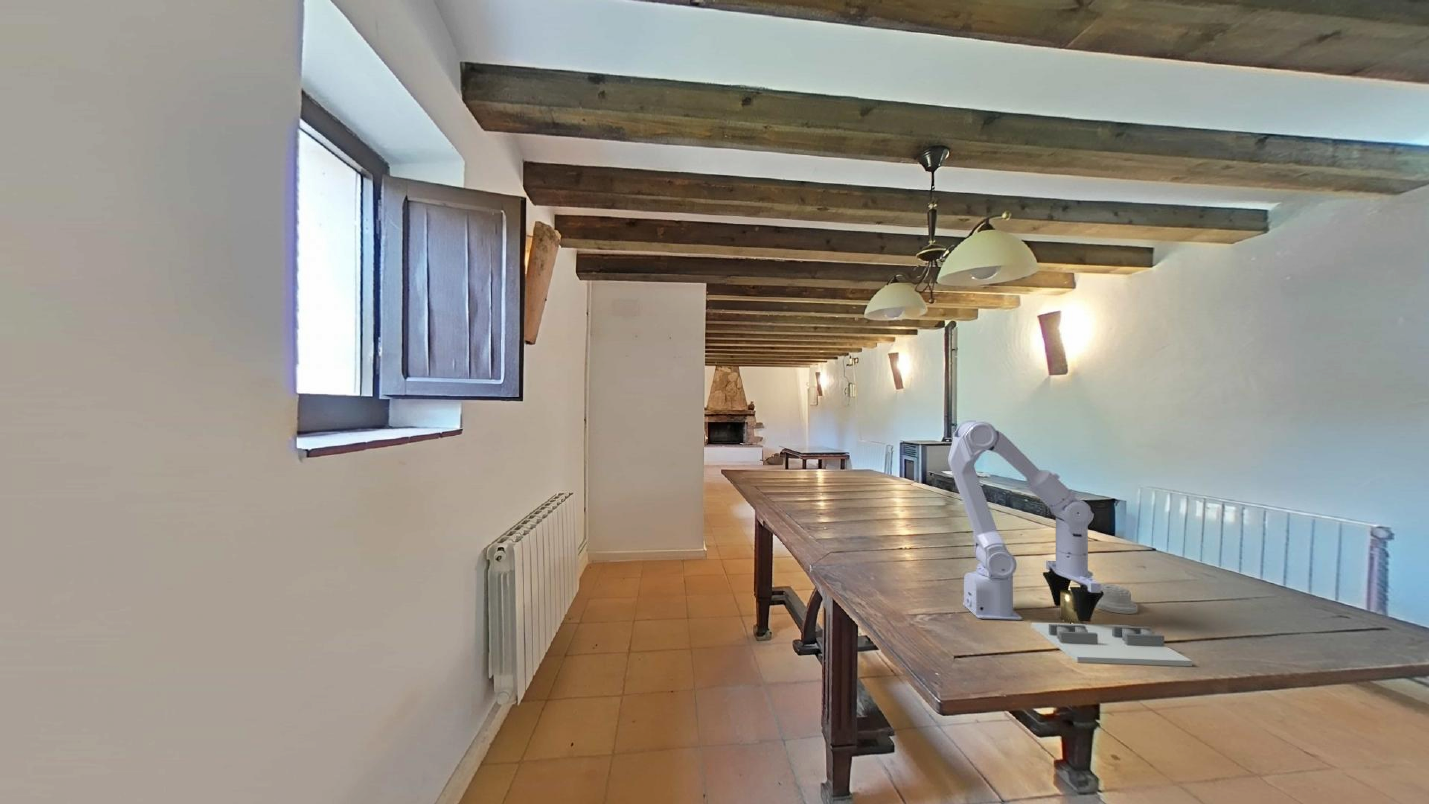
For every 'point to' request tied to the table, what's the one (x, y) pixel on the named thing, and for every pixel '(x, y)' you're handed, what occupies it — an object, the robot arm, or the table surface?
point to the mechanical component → (1116, 600)
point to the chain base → (1110, 644)
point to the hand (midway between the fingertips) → (1071, 613)
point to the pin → (1068, 607)
